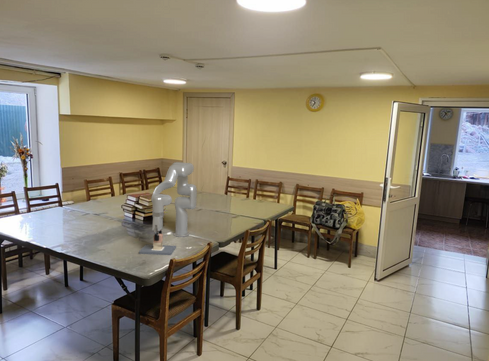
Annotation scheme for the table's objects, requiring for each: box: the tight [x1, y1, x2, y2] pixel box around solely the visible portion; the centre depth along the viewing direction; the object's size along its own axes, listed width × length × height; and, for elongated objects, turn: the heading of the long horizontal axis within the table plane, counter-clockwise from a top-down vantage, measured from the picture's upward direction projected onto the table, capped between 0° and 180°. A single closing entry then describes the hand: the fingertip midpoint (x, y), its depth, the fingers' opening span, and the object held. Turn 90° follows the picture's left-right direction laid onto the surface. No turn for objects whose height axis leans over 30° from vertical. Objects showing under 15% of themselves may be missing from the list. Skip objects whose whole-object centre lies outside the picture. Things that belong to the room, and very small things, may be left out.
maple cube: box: [152, 241, 164, 250], centre depth 236 cm, size 5×5×5 cm
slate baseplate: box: [138, 243, 177, 256], centre depth 237 cm, size 15×22×2 cm
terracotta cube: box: [153, 233, 164, 243], centre depth 235 cm, size 5×5×5 cm
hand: (158, 238), depth 235 cm, fingers open, 6 cm apart
